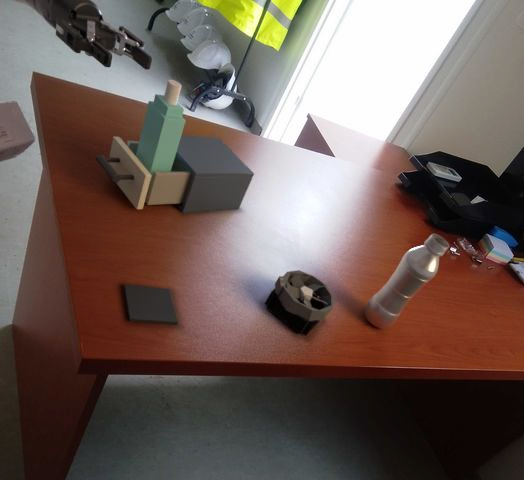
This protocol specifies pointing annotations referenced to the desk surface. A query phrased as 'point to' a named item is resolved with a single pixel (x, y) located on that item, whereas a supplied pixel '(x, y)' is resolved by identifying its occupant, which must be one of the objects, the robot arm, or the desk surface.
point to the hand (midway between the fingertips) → (130, 62)
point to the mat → (150, 305)
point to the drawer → (144, 176)
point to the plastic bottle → (405, 282)
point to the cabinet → (212, 175)
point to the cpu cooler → (300, 300)
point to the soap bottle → (161, 131)
